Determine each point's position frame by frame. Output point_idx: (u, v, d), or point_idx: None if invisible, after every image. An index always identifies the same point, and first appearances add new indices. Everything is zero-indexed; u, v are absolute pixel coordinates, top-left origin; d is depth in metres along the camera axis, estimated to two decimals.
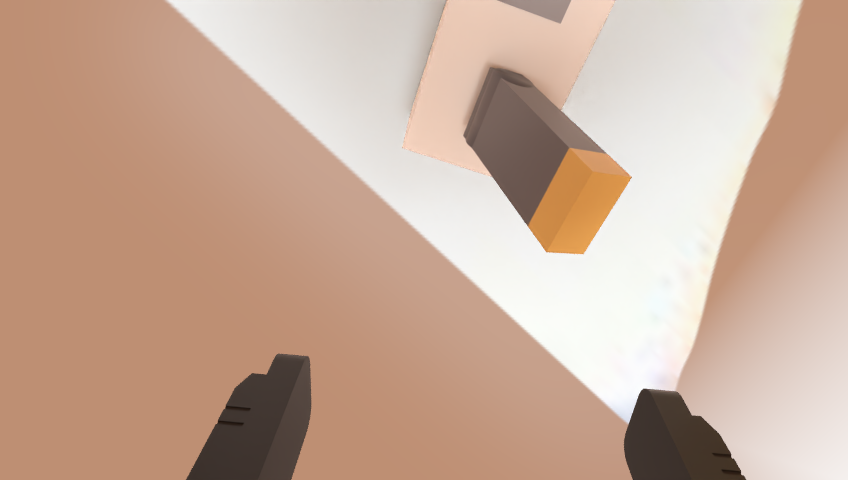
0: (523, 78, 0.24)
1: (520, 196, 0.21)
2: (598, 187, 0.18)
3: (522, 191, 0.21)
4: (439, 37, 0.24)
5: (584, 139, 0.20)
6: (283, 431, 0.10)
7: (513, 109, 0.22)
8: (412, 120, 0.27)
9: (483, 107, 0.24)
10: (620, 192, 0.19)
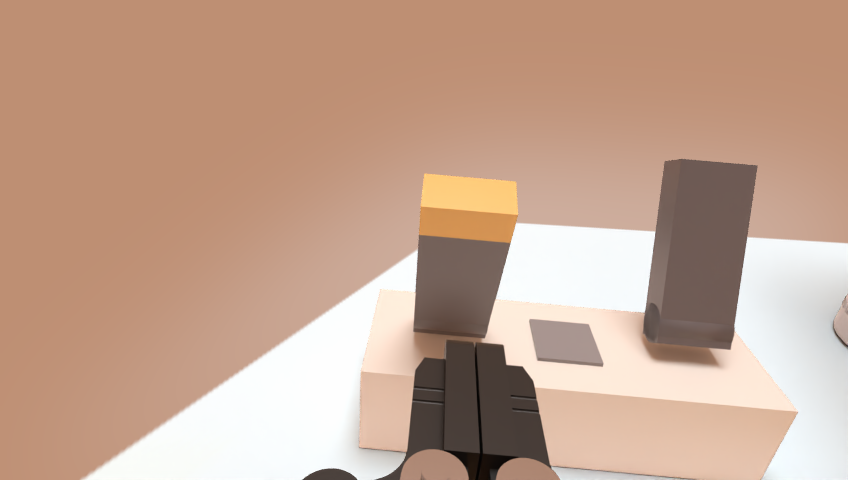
0: None
1: None
2: (501, 191, 0.20)
3: None
4: None
5: None
6: None
7: None
8: (408, 292, 0.30)
9: None
10: (499, 211, 0.19)
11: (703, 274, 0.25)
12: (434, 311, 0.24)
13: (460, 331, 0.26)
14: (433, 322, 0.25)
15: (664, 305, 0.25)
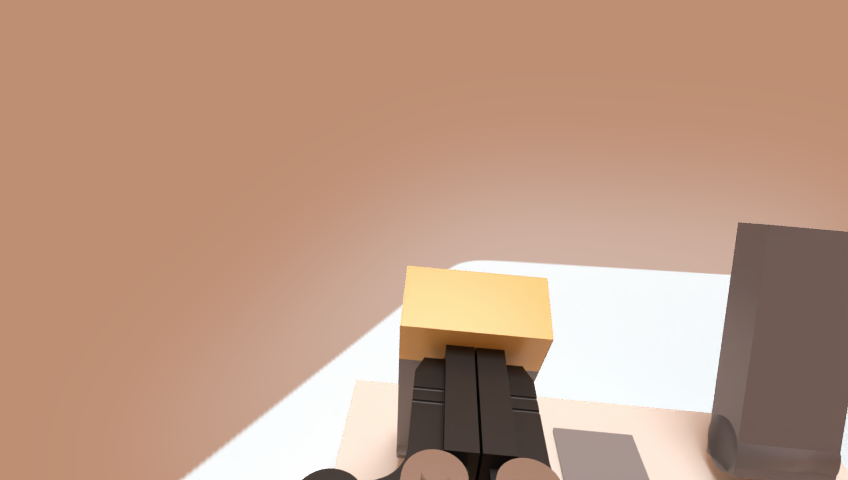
0: None
1: None
2: (526, 296, 0.13)
3: None
4: None
5: None
6: None
7: None
8: (393, 384, 0.23)
9: None
10: (524, 334, 0.12)
11: (798, 382, 0.18)
12: None
13: None
14: None
15: (743, 424, 0.18)
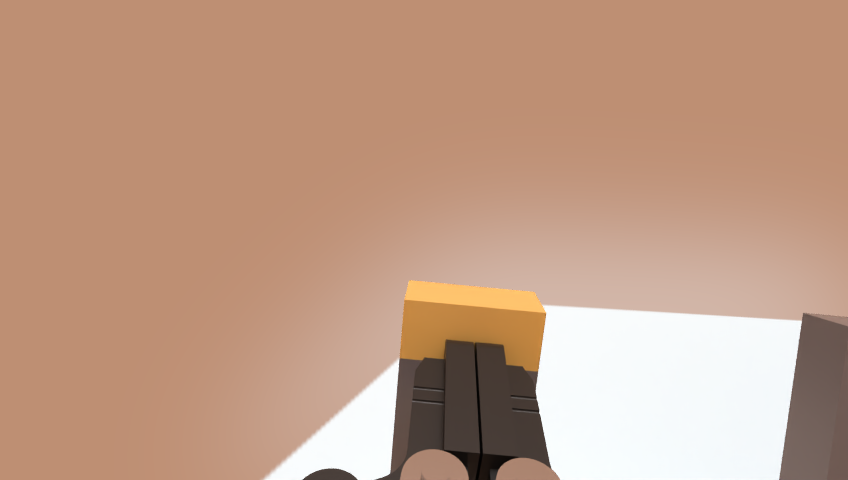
0: None
1: None
2: (517, 296, 0.14)
3: None
4: None
5: None
6: None
7: None
8: None
9: None
10: (519, 309, 0.13)
11: None
12: None
13: None
14: None
15: None
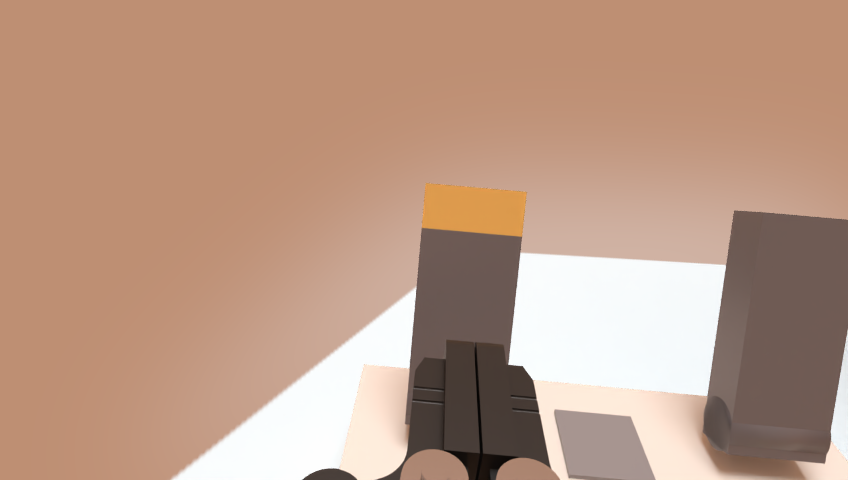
0: None
1: None
2: None
3: None
4: None
5: None
6: None
7: None
8: (399, 368, 0.24)
9: None
10: (507, 190, 0.18)
11: (791, 364, 0.19)
12: None
13: None
14: None
15: (737, 404, 0.19)
